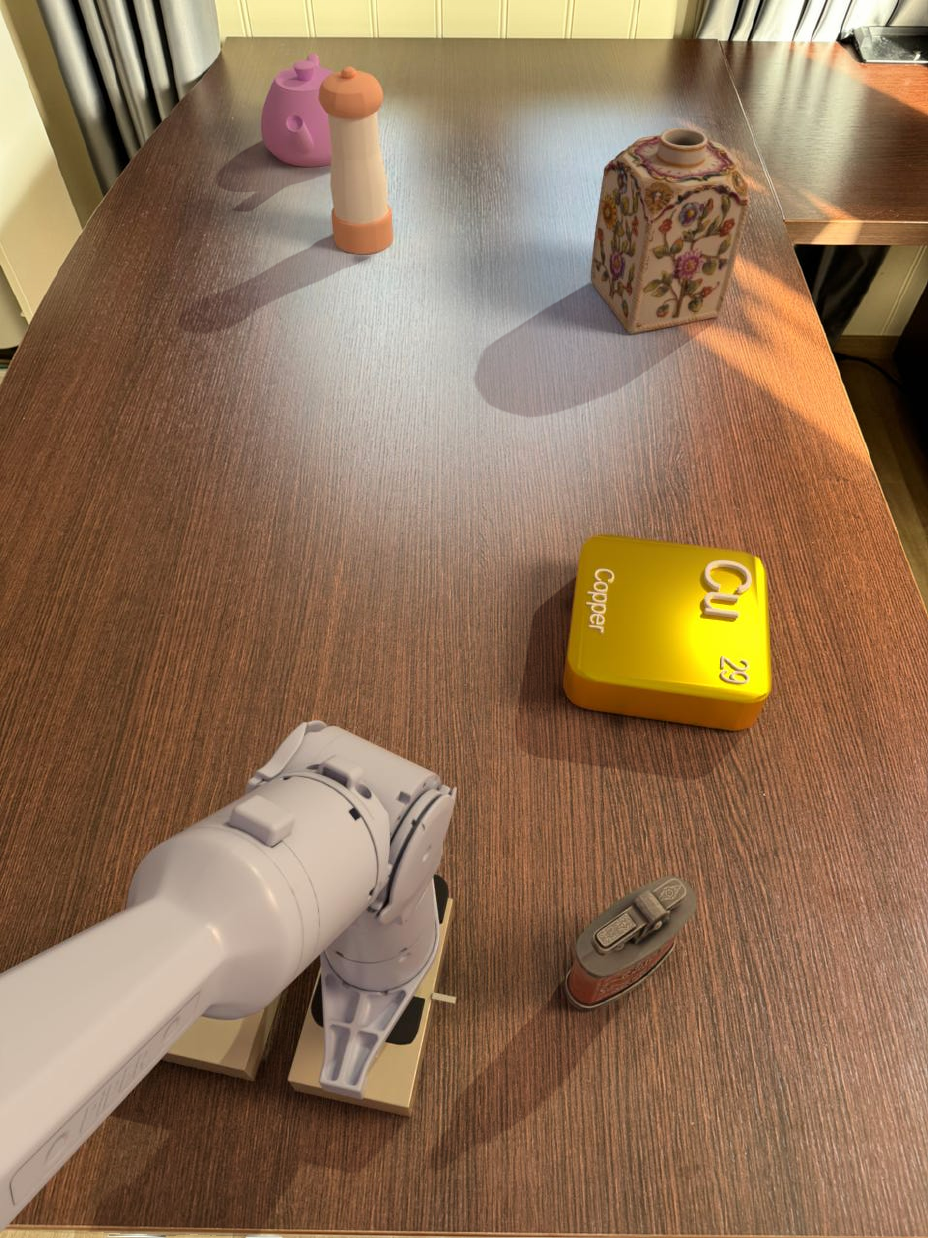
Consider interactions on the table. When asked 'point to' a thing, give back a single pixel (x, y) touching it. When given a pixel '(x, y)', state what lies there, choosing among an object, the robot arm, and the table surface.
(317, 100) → the teapot
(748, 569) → the element tile
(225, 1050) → the tan base plate
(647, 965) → the lighter
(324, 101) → the pepper shaker
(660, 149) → the decorative jar
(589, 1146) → the table surface
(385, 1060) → the dial knob base
